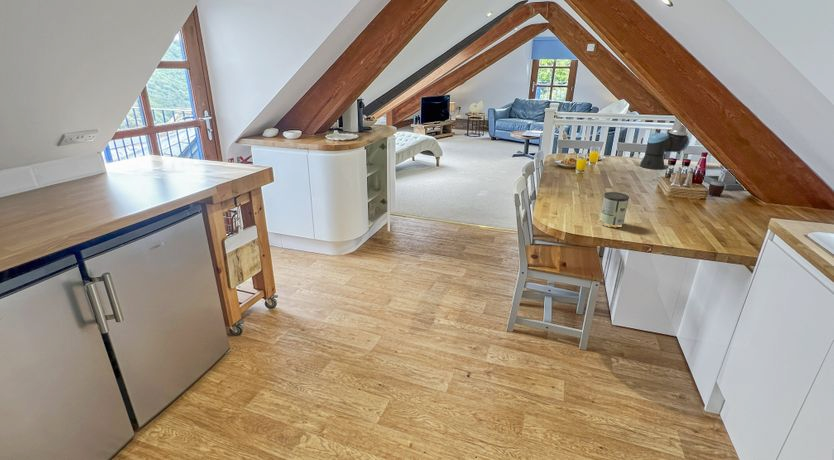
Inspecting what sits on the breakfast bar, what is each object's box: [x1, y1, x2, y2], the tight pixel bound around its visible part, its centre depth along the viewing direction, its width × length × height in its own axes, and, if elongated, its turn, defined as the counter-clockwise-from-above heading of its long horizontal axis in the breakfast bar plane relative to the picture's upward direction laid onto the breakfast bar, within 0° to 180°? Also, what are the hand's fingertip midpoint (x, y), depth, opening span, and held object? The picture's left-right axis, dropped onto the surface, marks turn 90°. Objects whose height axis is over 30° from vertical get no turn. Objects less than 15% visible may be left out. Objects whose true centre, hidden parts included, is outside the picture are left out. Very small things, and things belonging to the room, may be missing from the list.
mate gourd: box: [707, 172, 727, 198], centre depth 229 cm, size 8×8×15 cm
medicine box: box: [718, 169, 736, 184], centre depth 249 cm, size 8×4×9 cm, turn 89°
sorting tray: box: [704, 175, 745, 191], centre depth 250 cm, size 20×15×4 cm
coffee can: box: [599, 191, 630, 225], centre depth 188 cm, size 10×10×14 cm
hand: (729, 170), depth 248 cm, fingers open, 13 cm apart
